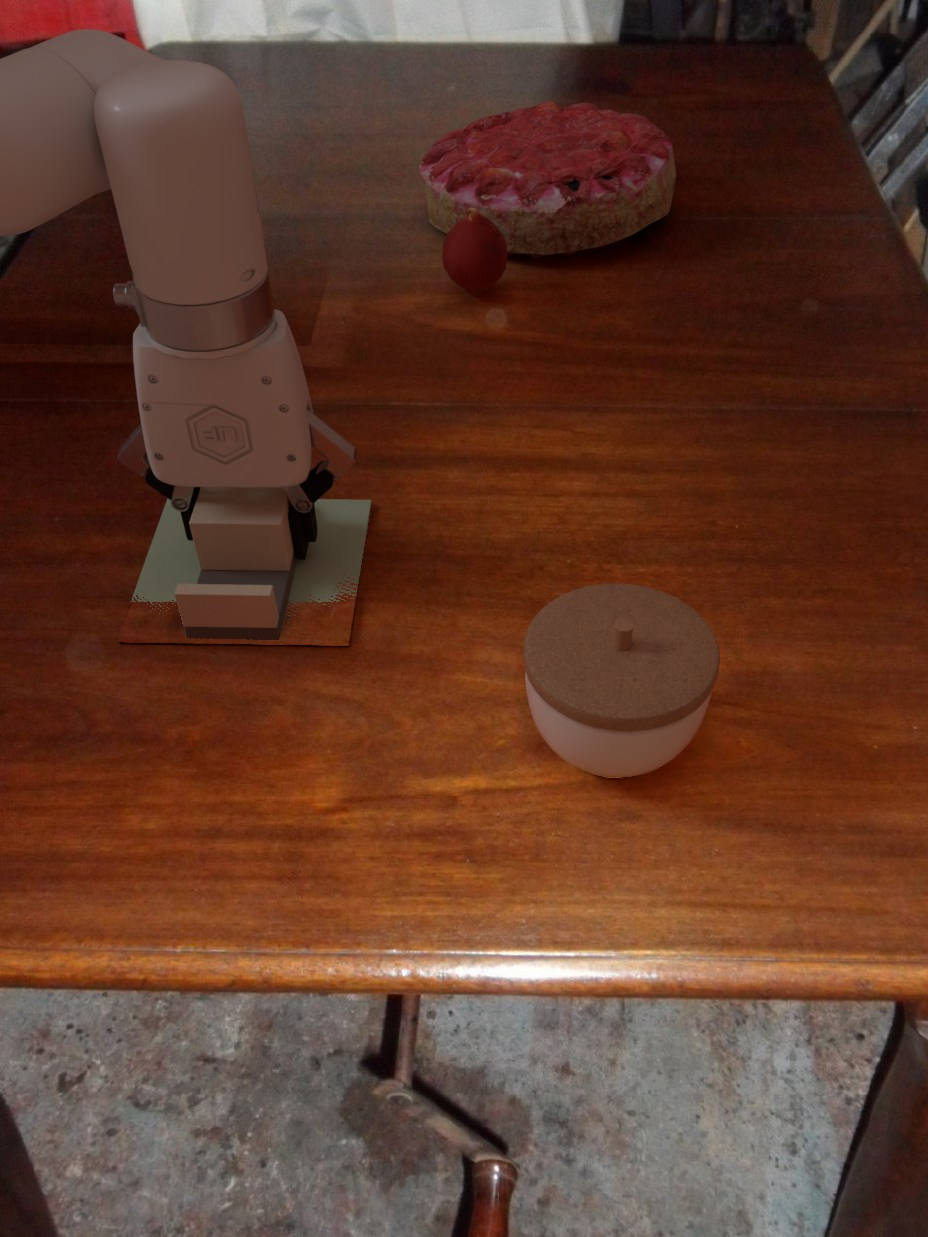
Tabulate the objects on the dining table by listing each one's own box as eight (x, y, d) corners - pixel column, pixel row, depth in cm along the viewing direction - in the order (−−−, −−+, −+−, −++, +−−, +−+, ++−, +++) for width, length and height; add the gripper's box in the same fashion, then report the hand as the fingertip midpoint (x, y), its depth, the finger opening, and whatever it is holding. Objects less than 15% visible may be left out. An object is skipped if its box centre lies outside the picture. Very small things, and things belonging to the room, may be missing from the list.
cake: (721, 233, 111) (727, 146, 106) (477, 288, 106) (470, 200, 101) (614, 152, 128) (614, 74, 123) (399, 197, 123) (390, 117, 118)
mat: (118, 643, 75) (117, 639, 74) (168, 501, 85) (167, 497, 85) (349, 647, 74) (348, 642, 74) (371, 503, 84) (371, 499, 84)
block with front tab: (279, 642, 74) (267, 580, 70) (186, 640, 74) (169, 579, 70) (310, 498, 84) (301, 438, 80) (229, 497, 84) (216, 437, 81)
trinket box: (523, 811, 65) (526, 698, 58) (519, 675, 72) (521, 560, 65) (713, 810, 65) (739, 696, 58) (690, 674, 72) (710, 559, 65)
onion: (476, 272, 109) (475, 187, 103) (520, 293, 106) (521, 207, 100) (431, 294, 106) (427, 207, 100) (474, 316, 103) (473, 228, 97)
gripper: (41, 336, 64) (118, 580, 78) (348, 338, 64) (374, 584, 77) (77, 272, 70) (144, 511, 83) (362, 274, 69) (384, 514, 82)
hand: (255, 544), depth 80 cm, fingers closed on block with front tab, 6 cm apart
